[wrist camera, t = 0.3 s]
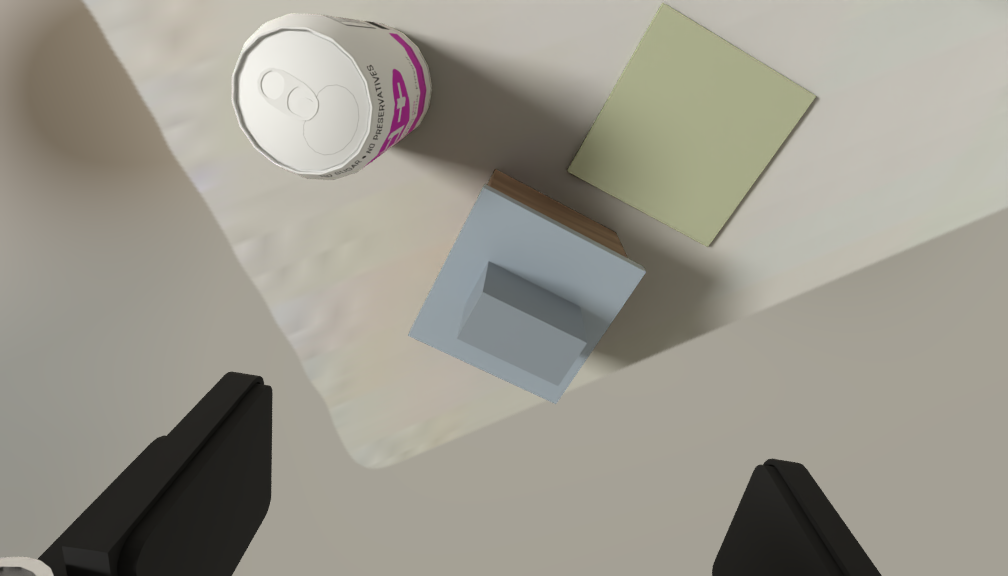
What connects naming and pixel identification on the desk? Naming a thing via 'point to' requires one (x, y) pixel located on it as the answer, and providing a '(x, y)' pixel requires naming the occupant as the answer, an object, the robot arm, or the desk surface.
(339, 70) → the supplement can
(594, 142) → the felt mat
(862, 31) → the desk surface
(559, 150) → the desk surface
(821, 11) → the desk surface
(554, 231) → the lid
